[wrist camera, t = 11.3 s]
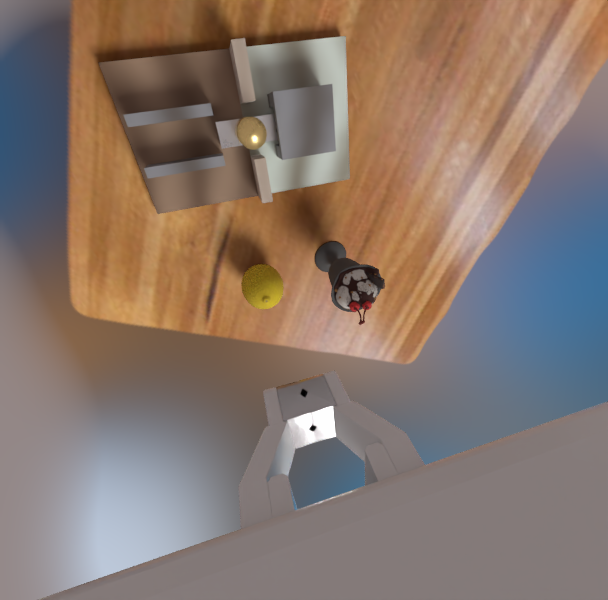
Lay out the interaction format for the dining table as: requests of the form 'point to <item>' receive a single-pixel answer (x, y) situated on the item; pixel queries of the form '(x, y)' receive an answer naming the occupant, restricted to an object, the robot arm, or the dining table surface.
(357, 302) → the sundae
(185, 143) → the lock board
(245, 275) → the lemon
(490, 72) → the dining table surface
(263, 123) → the bolt
